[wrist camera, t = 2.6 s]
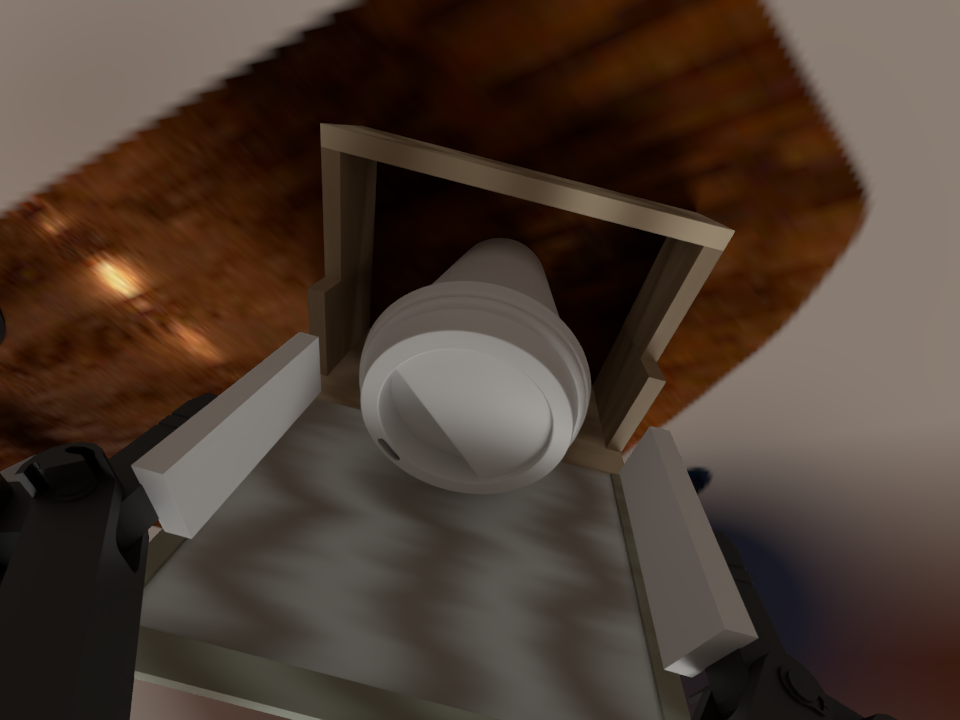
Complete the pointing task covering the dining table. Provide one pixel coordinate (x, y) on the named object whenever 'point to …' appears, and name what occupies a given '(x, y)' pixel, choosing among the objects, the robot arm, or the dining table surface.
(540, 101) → the dining table surface
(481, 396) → the coffee cup
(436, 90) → the dining table surface
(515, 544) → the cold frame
